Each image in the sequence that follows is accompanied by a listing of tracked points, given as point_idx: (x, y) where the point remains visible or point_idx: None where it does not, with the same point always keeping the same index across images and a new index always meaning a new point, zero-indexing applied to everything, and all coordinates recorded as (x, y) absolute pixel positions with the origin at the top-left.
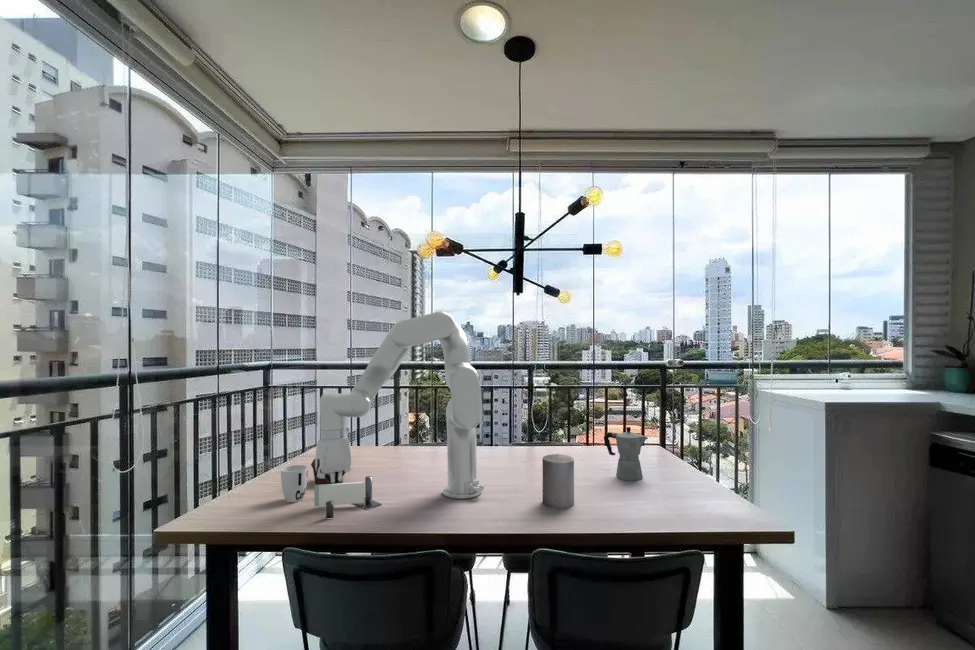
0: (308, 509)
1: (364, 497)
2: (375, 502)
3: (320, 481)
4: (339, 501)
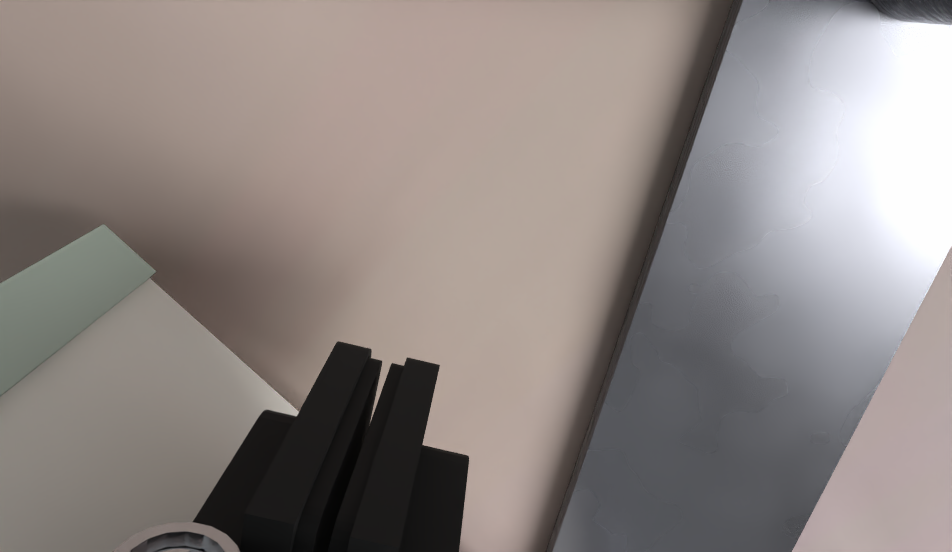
0: (37, 156)
1: (792, 531)
2: None
3: None
4: None
